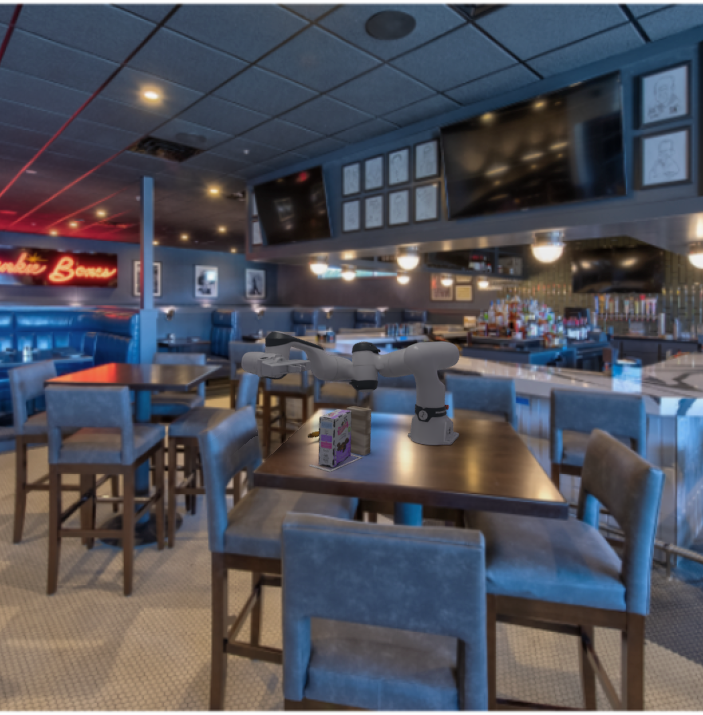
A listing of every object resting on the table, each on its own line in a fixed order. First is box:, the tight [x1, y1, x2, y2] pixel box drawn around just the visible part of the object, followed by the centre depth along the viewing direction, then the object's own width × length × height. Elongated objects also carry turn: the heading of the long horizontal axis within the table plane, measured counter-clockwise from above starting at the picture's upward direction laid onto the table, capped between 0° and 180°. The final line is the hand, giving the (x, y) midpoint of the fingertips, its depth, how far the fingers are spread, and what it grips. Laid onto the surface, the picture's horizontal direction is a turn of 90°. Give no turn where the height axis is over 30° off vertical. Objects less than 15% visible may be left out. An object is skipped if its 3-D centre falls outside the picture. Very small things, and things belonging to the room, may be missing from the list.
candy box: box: [318, 408, 352, 468], centre depth 158 cm, size 14×6×16 cm, turn 155°
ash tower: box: [346, 405, 372, 457], centre depth 167 cm, size 4×8×16 cm, turn 53°
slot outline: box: [308, 453, 364, 473], centre depth 158 cm, size 18×9×1 cm, turn 143°
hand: (303, 369), depth 163 cm, fingers closed
